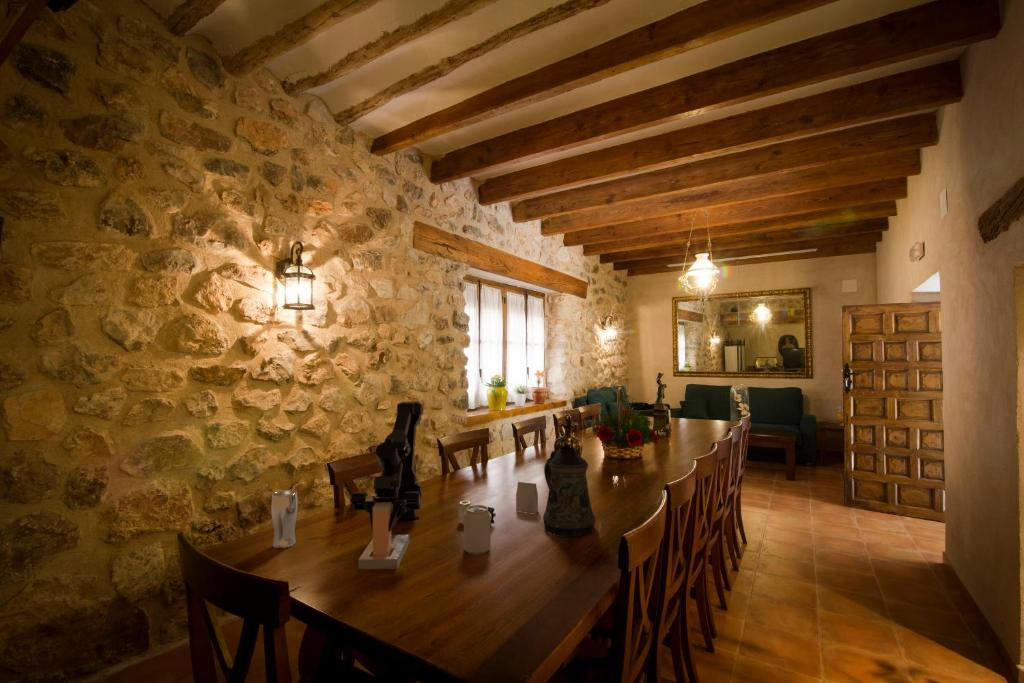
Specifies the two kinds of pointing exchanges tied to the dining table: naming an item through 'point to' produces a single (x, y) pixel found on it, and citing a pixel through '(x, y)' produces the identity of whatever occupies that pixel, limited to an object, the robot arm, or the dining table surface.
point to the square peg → (381, 529)
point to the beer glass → (284, 517)
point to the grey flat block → (385, 562)
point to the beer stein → (567, 495)
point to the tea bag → (527, 497)
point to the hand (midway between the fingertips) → (380, 530)
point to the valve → (463, 509)
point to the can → (477, 529)
